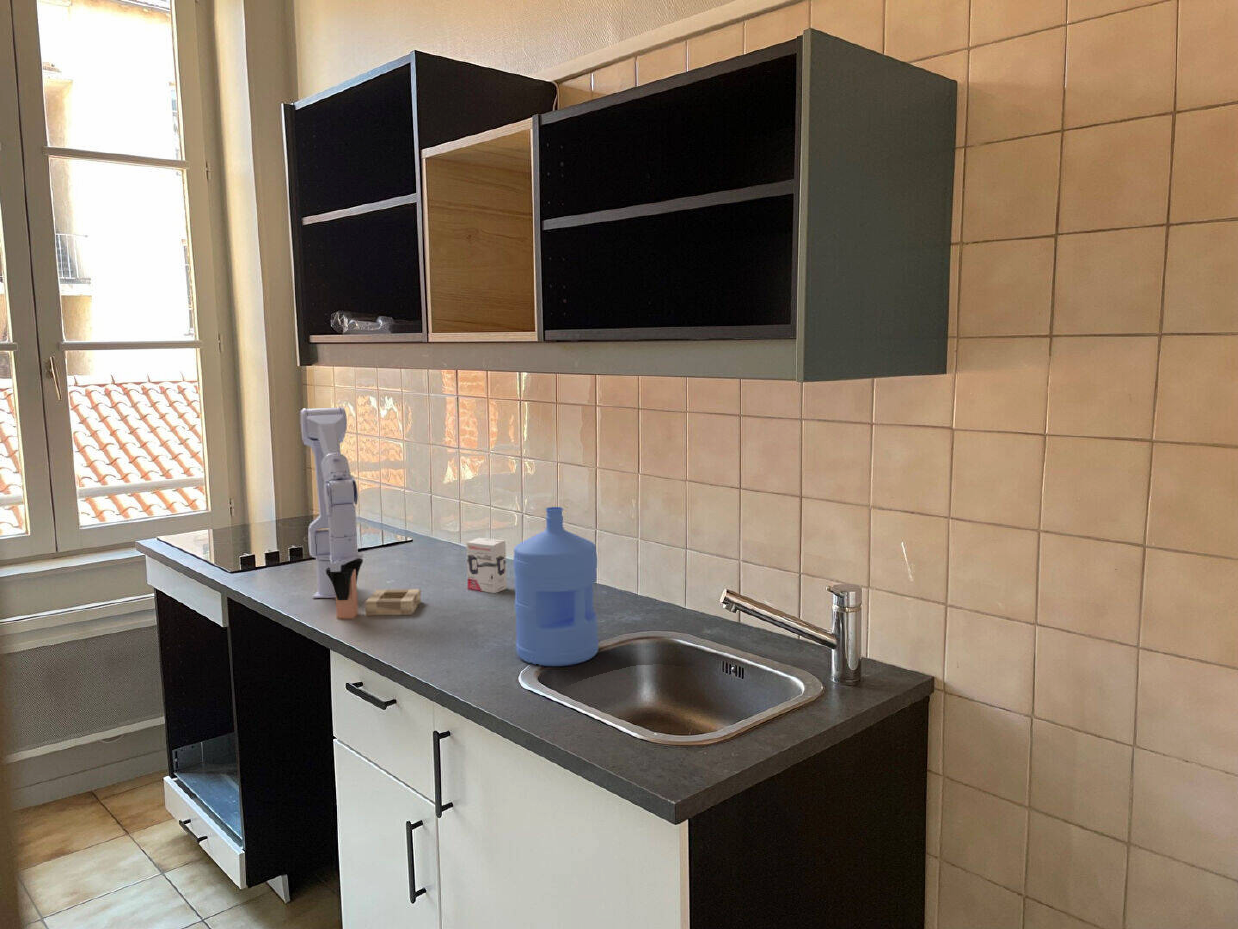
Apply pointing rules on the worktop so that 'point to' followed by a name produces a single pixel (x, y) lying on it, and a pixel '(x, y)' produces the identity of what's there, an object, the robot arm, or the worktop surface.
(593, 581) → the water jug
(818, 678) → the worktop surface
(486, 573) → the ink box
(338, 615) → the peg
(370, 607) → the socket block
